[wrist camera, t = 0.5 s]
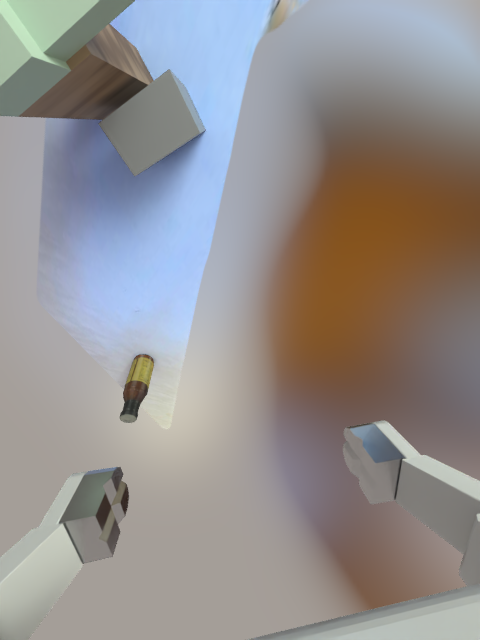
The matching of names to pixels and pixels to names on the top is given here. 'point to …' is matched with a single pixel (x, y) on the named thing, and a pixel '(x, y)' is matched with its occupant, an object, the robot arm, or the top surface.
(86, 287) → the top surface
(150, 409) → the top surface
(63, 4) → the green handle
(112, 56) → the walnut stand
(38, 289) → the top surface
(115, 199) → the top surface
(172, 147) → the gray block
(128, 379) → the sauce bottle
